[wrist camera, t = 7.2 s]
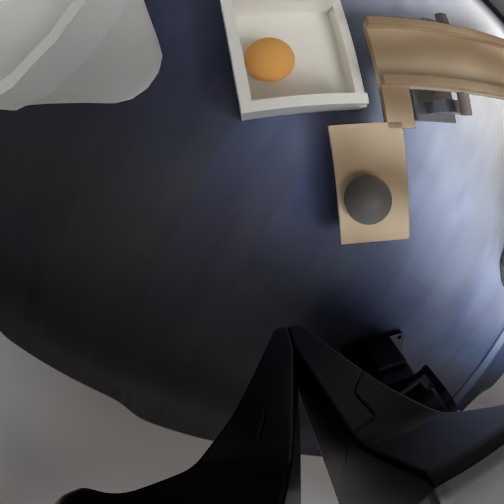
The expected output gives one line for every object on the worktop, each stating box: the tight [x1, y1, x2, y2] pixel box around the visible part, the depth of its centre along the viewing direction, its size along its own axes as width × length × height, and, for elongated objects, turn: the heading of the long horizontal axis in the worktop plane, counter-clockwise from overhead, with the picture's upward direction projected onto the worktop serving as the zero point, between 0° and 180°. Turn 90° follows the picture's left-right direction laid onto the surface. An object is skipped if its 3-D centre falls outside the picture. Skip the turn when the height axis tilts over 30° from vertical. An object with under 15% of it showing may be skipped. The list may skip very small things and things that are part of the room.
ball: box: [245, 37, 295, 82], centre depth 15 cm, size 3×3×3 cm
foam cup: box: [0, 0, 163, 110], centre depth 10 cm, size 10×9×13 cm
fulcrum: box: [410, 18, 460, 123], centre depth 15 cm, size 9×4×3 cm, turn 9°
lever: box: [328, 13, 504, 244], centre depth 13 cm, size 17×24×4 cm
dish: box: [220, 0, 369, 121], centre depth 15 cm, size 9×9×4 cm
